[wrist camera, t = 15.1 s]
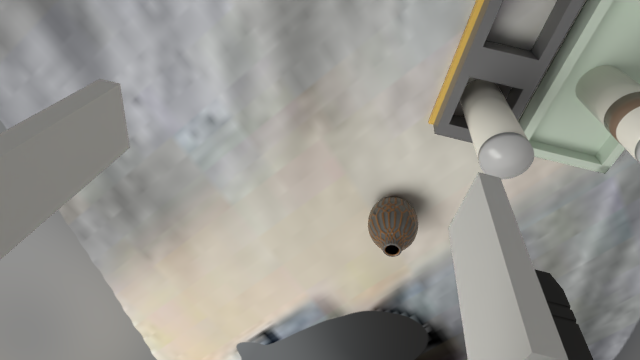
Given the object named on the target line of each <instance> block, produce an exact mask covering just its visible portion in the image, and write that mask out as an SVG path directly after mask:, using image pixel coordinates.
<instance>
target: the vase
mask: <svg viewBox="0 0 640 360" xmlns="http://www.w3.org/2000/svg"><path fill="white" fill-rule="evenodd" d="M368 229H369V233H370V236H371V238H372V240H373V242H374V243H375V244H376V245H377V246H378V247H379V248H381V249H382V250H383V252H384V253H385V254H386V255H387V256H391V257H394V256H398V255H399V254H400V253H401V252H402V251H403V250H404V249H406V248H407V247H409V246H410V245H411V244H412V242H413V241H414V239H415V237H416V234H417V230H418V220H417V215H416V213H415V211H414V209H413V207H412V206H411V205H410V204H409V203H408V202H407V201H405V200H403V199H401V198H398V197H388V198H384V199H382V200H380V201H379V202H377V203H376V204H375V205H374V207H373V208H372V210H371V212H370V215H369V220H368Z"/></svg>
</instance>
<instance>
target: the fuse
mask: <svg viewBox="0 0 640 360" xmlns="http://www.w3.org/2000/svg"><path fill="white" fill-rule="evenodd" d="M460 103H461V106H462V109H463V113H464V116H465V119H466V122H467V125H468V128H469V132H470V135H471V138H472V141H473V144H474V148H475V151H476V154H477V157H478V160H479V164H480V167H481V169H482V170H483V172H484V173H485V174H487V175H491V176H495V177H499V178H500V179H509V178H513V177H516V176H518V175H520V174H522V173H523V172H525V171H526V170H527V169H528V168H529V167H530V165H531V164H532V162H533V159H534V150H533V147H532V146H531V144H530V142H529V140H528V138H527V137H526V135H525V133H524V131H523V130H522V128H521V126H520V124H519V122H518V121H517V119H516V117H515V115H514V114H513V112H512V110H511V108H510V106H509V105H508V103H507V101H506V99H505V98H504V96H503V94H502V92H501V90H500V89H499V87H498V85H497V84H496V83H493V82H489V81H485V80H481V79H478V80H475V81H472V82H471V83H469V84H468V85H467V86H466V87H465V89H464V91H463V93H462V96H461V98H460Z"/></svg>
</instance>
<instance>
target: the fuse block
mask: <svg viewBox="0 0 640 360" xmlns="http://www.w3.org/2000/svg"><path fill="white" fill-rule="evenodd" d="M584 1H585V0H557V2H556V4H555V6H554V8H553V10H552V12H551V14H550V16H549V18H548V19H547V21H546V23H545V25H544V27H543V29H542V31H541V33H540V35H539V37H538V39H537V41H536V43H535V45H534V46H533V48H532V50H531V51H527V50H522V49H518V48H514V47H509V46H505V45H501V44H497V43H492V42H488V41H486V38H487V36H488V34H489V32H490V29H491V27H492V25H493V22H494V20H495V18H496V16H497V13H498V11H499V9H500V6H501V4H502V2H503V0H476V3H475V5H474V8H473V10H472V13H471V15H470V18H469V20H468V23H467V25H466V28H465V30H464V33H463V35H462V38H461V40H460V43H459V45H458V48H457V50H456V53H455V55H454V58H453V60H452V63H451V65H450V68H449V70H448V73H447V75H446V78H445V81H444V83H443V86H442V88H441V91H440V93H439V96H438V98H437V101H436V103H435V106H434V108H433V111H432V113H431V116H430V118H429V121H428V123H429V124H433V126H434V132H435V134H438V135H442V136H446V137H450V138H454V139H458V140H462V141H467V142H471V143H473V141H472V138H471V135H470V132H469V128H468V125H467V122H466V119H465V117H460V116H456V115H453V114H454V112H455V109H456V107H457V105H458V102H459V100H460V98H461V96H462V93H463V91H464V89H465V86H466V84H467V82H468V80H469V77H472V78H476V79H481V80H485V81H489V82H493V83H497V84H502V85H506V86H510V87H512V89H511V91H510V93H509V95H508V97H507V98H506V101H507V103H508V105H509V106H510V108H511V110H512V112H513V114H514V115H515V117H516V119H517V121H518V119H519V117H520V115H521V114H522V112H523V110H524V108H525V106H526V105H527V103H528V101H529V99H530V98H531V96H532V94H533V92H534V90H535V89H536V87H537V85H538V83H539V81H540V80H541V78H542V76H543V74H544V73H545V71H546V69H547V67H548V65H549V64H550V62H551V60H552V58H553V56H554V55H555V53H556V51H557V49H558V48H559V46H560V44H561V42H562V40H563V39H564V37H565V35H566V33H567V31H568V30H569V28H570V26H571V24H572V23H573V21H574V19H575V17H576V15H577V14H578V12H579V10H580V8H581V6H582V5H583V3H584Z"/></svg>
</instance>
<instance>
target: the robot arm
mask: <svg viewBox="0 0 640 360" xmlns="http://www.w3.org/2000/svg"><path fill="white" fill-rule="evenodd" d="M129 148H130V145H129V138H128V132H127V126H126V119H125V113H124V106H123V100H122V93H121V87H120V84H119V83H115V82H111V81H107V80H103V79H99V80H97V81H95V82H93V83H91V84H89V85H88V86H86V87H84V88H82V89H80V90H79V91H77V92H75V93H73V94H71V95H69V96H68V97H66V98H64V99H62V100H60V101H59V102H57V103H55V104H53V105H51V106H49V107H48V108H46V109H44V110H42V111H40V112H39V113H37V114H35V115H33V116H31V117H29V118H28V119H26V120H24V121H22V122H20V123H18V124H17V125H15V126H13V127H11V128H9V129H8V130H6V131H4V132H2V133H0V259H1V258H3V257H4V256H5V255H6V254H7V253H9V252H10V251H11V250H12V249H13V248H14V247H15V246H17V245H18V244H19V243H20V242H21V241H22V240H24V239H25V238H26V237H27V236H28V235H29V234H30V233H32V232H33V231H34V230H35V229H36V228H37V227H39V226H40V225H41V224H42V223H43V222H44V221H45V220H47V219H48V218H49V217H50V216H51V215H52V214H54V213H55V212H56V211H57V210H58V209H59V208H61V207H62V206H63V205H64V204H65V203H66V202H68V201H69V200H70V199H71V198H72V197H73V196H74V195H76V194H77V193H78V192H79V191H80V190H81V189H83V188H84V187H85V186H86V185H87V184H88V183H90V182H91V181H92V180H93V179H94V178H95V177H96V176H98V175H99V174H100V173H101V172H102V171H103V170H105V169H106V168H107V167H108V166H109V165H110V164H112V163H113V162H114V161H115V160H116V159H117V158H118V157H120V156H121V155H122V154H123V153H124V152H125V151H127V150H128V149H129ZM448 230H449V237H450V243H451V250H452V257H453V263H454V270H455V277H456V283H457V290H458V297H459V303H460V310H461V317H462V323H463V330H464V337H465V343H466V350H467V357H468V360H593V358H592V356H591V353H590V351H589V349H588V346H587V344H586V342H585V339H584V337H583V335H582V332H581V330H580V328H579V325H578V324H576V318H575V316H574V314H573V312H572V310H570V305H569V302H568V300H567V298H566V295H565V293H564V291H563V289H562V288H561V287H560V285H559V284H558V283H557V282H556V280H555V279H554V278H553V277H552V276H551V274H550V273H546V272H542V271H539V270H535V269H534V267H533V264H532V261H531V259H530V256H529V253H528V251H527V248H526V245H525V243H524V240H523V237H522V235H521V232H520V229H519V227H518V224H517V221H516V219H515V216H514V213H513V211H512V208H511V205H510V203H509V200H508V197H507V195H506V192H505V189H504V187H503V184H502V181H501V179H500V178H499V177H495V176H491V175H487V174H483V173H479V172H478V174H477V176H476V178H475V180H474V181H473V183H472V185H471V187H470V189H469V191H468V193H467V194H466V196H465V198H464V200H463V202H462V204H461V205H460V207H459V209H458V211H457V213H456V215H455V217H454V218H453V220H452V222H451V224H450V226H449V228H448Z"/></svg>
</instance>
